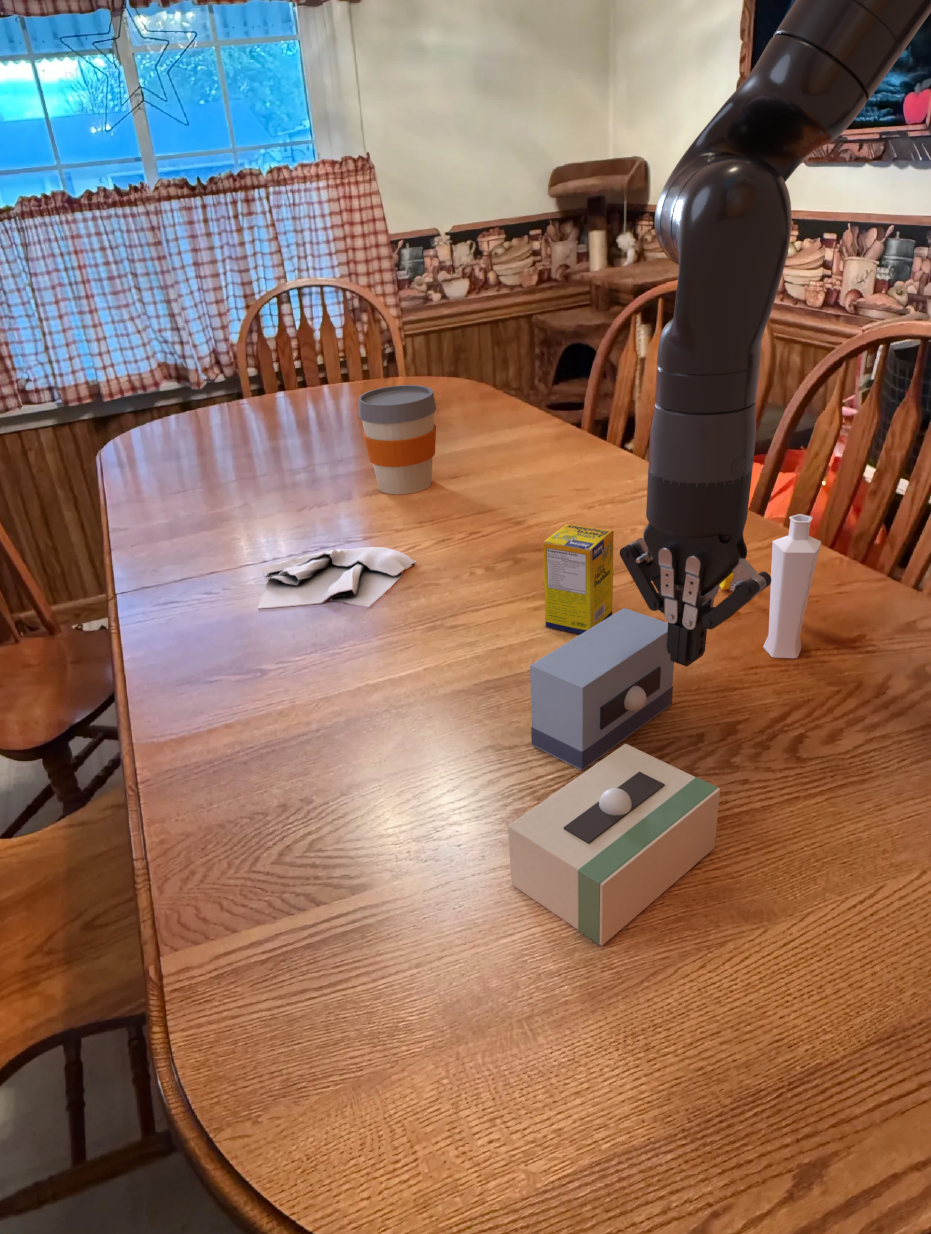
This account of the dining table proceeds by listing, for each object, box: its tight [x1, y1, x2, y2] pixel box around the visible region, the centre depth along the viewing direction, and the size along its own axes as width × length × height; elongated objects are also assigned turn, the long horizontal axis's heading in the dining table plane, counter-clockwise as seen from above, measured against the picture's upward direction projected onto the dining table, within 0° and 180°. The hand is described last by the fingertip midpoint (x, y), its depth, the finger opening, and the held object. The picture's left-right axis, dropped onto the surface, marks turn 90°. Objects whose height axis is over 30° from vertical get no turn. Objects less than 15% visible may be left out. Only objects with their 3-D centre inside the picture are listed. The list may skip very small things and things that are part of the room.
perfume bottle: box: [762, 513, 822, 659], centre depth 92 cm, size 5×4×15 cm
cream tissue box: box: [507, 743, 721, 947], centre depth 69 cm, size 14×8×9 cm
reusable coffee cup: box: [358, 384, 437, 495], centre depth 147 cm, size 13×13×15 cm
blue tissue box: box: [529, 607, 675, 771], centre depth 84 cm, size 14×8×9 cm, turn 133°
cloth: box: [257, 546, 417, 610], centre depth 121 cm, size 20×22×2 cm
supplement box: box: [542, 522, 614, 635], centre depth 102 cm, size 6×6×11 cm
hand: (684, 660), depth 76 cm, fingers closed
